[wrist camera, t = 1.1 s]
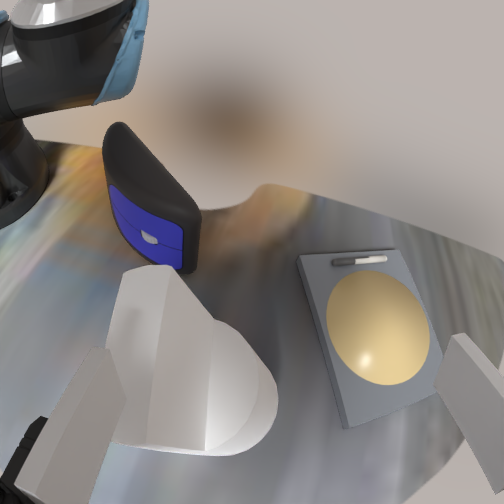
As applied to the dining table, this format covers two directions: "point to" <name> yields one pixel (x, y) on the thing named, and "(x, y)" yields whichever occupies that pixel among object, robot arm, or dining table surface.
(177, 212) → the black two-tone rounded device
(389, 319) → the plate
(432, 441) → the dining table surface
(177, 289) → the base with upright slab
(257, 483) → the dining table surface
